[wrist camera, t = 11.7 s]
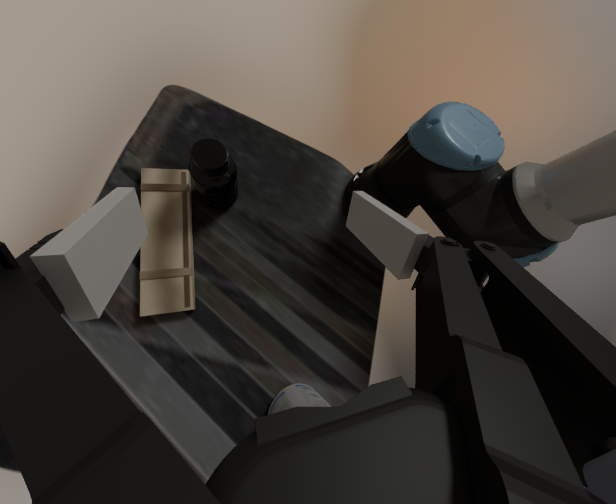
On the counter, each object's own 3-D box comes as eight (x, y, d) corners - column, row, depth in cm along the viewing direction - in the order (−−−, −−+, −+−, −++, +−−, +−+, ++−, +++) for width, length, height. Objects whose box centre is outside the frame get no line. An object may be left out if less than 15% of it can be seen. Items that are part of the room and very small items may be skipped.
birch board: (190, 175, 41) (188, 169, 39) (195, 309, 37) (192, 309, 35) (145, 174, 39) (140, 167, 37) (144, 316, 34) (139, 316, 33)
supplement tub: (279, 461, 35) (305, 559, 22) (257, 401, 36) (268, 459, 22) (331, 423, 39) (382, 488, 25) (309, 370, 40) (347, 404, 26)
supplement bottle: (213, 170, 43) (204, 122, 32) (244, 190, 44) (246, 151, 32) (190, 196, 40) (171, 155, 29) (223, 217, 41) (217, 185, 30)
